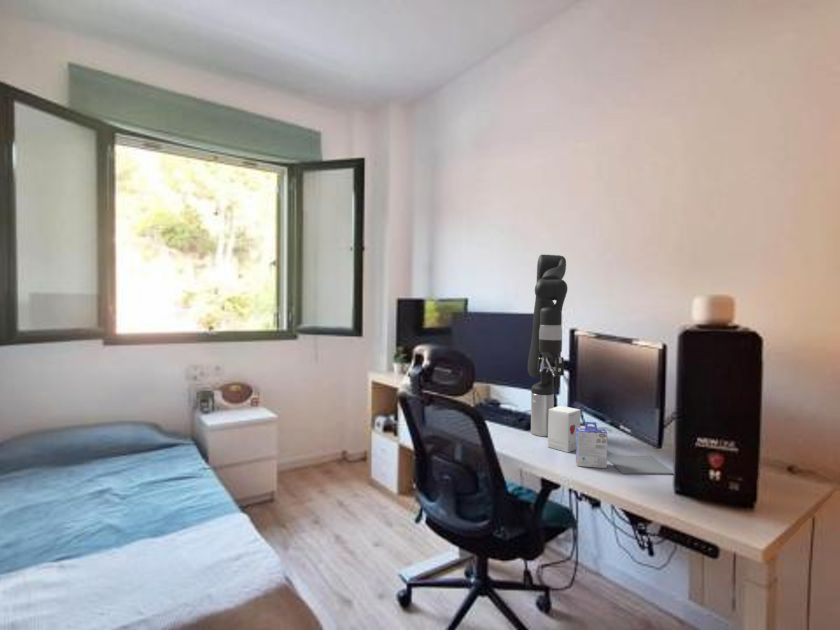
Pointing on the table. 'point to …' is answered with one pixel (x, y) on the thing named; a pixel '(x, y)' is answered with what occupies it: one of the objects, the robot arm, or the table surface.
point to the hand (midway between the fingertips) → (549, 385)
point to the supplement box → (563, 428)
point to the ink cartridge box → (591, 446)
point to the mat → (638, 464)
